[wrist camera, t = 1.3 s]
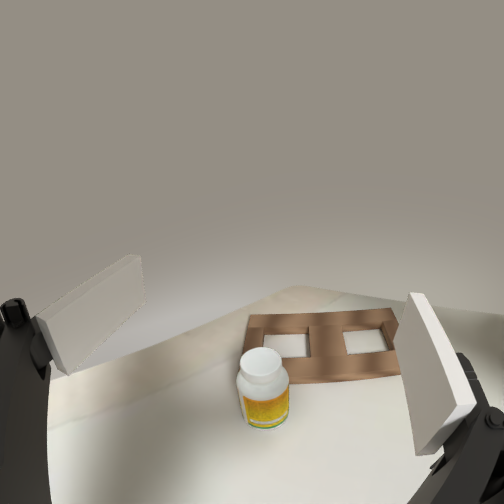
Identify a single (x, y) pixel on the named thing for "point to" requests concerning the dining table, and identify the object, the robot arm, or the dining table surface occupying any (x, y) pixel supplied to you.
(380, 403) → the dining table surface
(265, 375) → the supplement bottle
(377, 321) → the rail
